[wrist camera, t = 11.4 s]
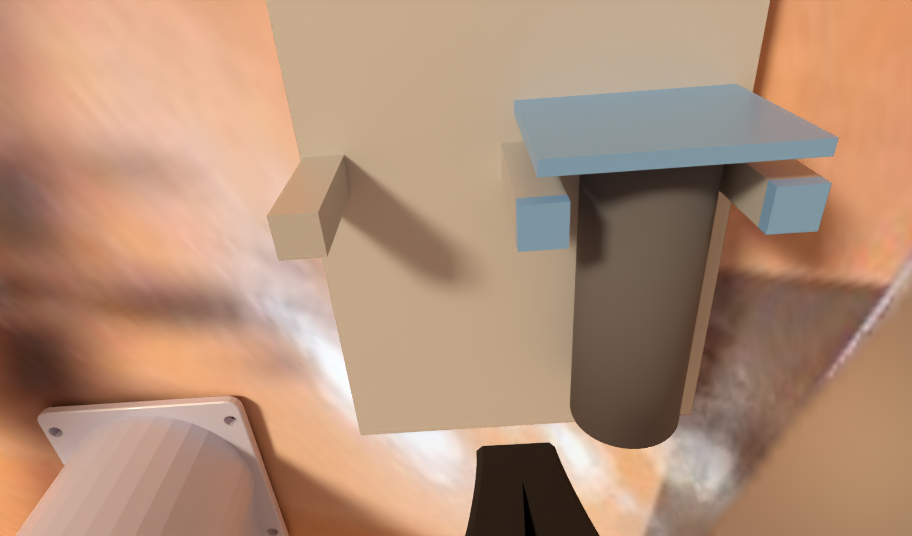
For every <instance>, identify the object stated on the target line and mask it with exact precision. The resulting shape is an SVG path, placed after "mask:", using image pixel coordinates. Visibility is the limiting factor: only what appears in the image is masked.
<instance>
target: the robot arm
mask: <svg viewBox="0 0 912 536" xmlns="http://www.w3.org/2000/svg"><path fill="white" fill-rule="evenodd" d="M229 416H232V417H234V418H231V417H229ZM235 418H236V419H235ZM37 420H38V423H39V425H40V427H41V428H42V430H43V431H44V433H45V435H46V436H47V438H48V440H49V441H50V443H51V444H52V446H53V448H54V449H55V451H56V453H57V454H58V456H59V457H60V459H61V461H62V462H63V464H64V468H63V469H62V470H61V472H60V473H59V475H58V476H57V478H56V479H55V480H54V482H53V483H52V485H51V486H50V487H49V489H48V490H47V492H46V493H45V494H44V496H43V497H42V499H41V500H40V501H39V503H38V504H37V506H36V507H35V508H34V510H33V511H32V513H31V514H30V516H29V517H28V518H27V520H26V521H25V523H24V524H23V525H22V527H21V528H20V530H19V531H18V532H17V534H16V535H15V536H289V534H288V531H287V528H286V525H285V522H284V520H283V517H282V514H281V511H280V508H279V505H278V503H277V500H276V497H275V494H274V491H273V488H272V486H271V483H270V480H269V477H268V474H267V471H266V469H265V466H264V463H263V460H262V457H261V455H260V452H259V449H258V446H257V443H256V440H255V438H254V435H253V432H252V429H251V426H250V423H249V421H248V418H247V415H246V412H245V409H244V406H243V404H242V402H241V401H240V400H239V399H237V398H235V397H233V396H217V397H201V398H186V399H170V400H155V401H139V402H123V403H108V404H92V405H77V406H61V407H49V408H45V409H44V410H43V411H42V412H41V413H40V414H39V416H38V418H37ZM465 536H599V534H598V532H597V531H596V529H595V527H594V526H593V524H592V522H591V520H590V518H589V517H588V515H587V513H586V511H585V510H584V508H583V506H582V504H581V502H580V500H579V498H578V496H577V495H576V493H575V491H574V489H573V487H572V485H571V483H570V481H569V479H568V477H567V475H566V472H565V470H564V468H563V466H562V464H561V461H560V459H559V457H558V454H557V452H556V449H555V447H554V446H553V445H552V444H550V443H531V444H513V445H494V446H482V447H481V448H480V449H478V450H477V468H476V480H475V488H474V495H473V501H472V507H471V512H470V518H469V522H468V526H467V531H466V535H465Z"/></svg>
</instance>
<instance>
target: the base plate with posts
mask: <svg viewBox="0 0 912 536" xmlns="http://www.w3.org/2000/svg"><path fill="white" fill-rule="evenodd" d="M266 4H267V8H268V13H269V18H270V22H271V27H272V31H273V36H274V40H275V45H276V50H277V54H278V59H279V63H280V68H281V72H282V77H283V82H284V86H285V91H286V95H287V100H288V104H289V109H290V114H291V118H292V123H293V127H294V132H295V137H296V141H297V146H298V150H299V155H300V159H301V162H300V164H299V165H298V167H297V169H296V170H295V172H294V173H293V175H292V177H291V178H290V180H289V181H288V183H287V185H286V186H285V188H284V189H283V191H282V193H281V194H280V196H279V197H278V199H277V201H276V202H275V204H274V205H273V207H272V209H271V210H270V212H269V213H268V215H267V218H268V222H269V226H270V230H271V234H272V237H273V241H274V245H275V249H276V253H277V256H278V260H293V259H307V258H322V260H323V265H324V269H325V274H326V278H327V283H328V287H329V292H330V297H331V301H332V306H333V310H334V315H335V319H336V324H337V329H338V333H339V338H340V342H341V347H342V352H343V356H344V361H345V365H346V370H347V374H348V379H349V384H350V388H351V393H352V397H353V402H354V406H355V411H356V416H357V420H358V425H359V429H360V434H361V435H370V434H386V433H402V432H418V431H434V430H450V429H466V428H482V427H498V426H514V425H530V424H546V423H562V422H575V420H574V418H573V416H572V413H571V410H570V388H571V365H572V341H573V317H574V294H575V270H576V246H577V223H578V199H579V175H580V174H594V173H608V172H622V171H636V170H649V169H663V168H677V167H691V166H705V165H719V164H724V167H723V173H722V178H721V184H720V189H719V195H718V201H717V206H716V212H715V218H714V223H713V229H712V235H711V240H710V246H709V252H708V257H707V263H706V268H705V274H704V280H703V285H702V291H701V297H700V302H699V308H698V314H697V319H696V325H695V331H694V336H693V342H692V347H691V353H690V359H689V364H688V370H687V376H686V381H685V387H684V393H683V398H682V404H681V410H680V415H690V414H691V411H692V406H693V401H694V396H695V390H696V385H697V380H698V375H699V370H700V364H701V359H702V354H703V349H704V343H705V338H706V333H707V328H708V323H709V317H710V312H711V307H712V302H713V296H714V291H715V286H716V281H717V276H718V270H719V265H720V260H721V255H722V249H723V244H724V239H725V234H726V229H727V223H728V218H729V213H730V208H731V203H733V204H734V205H735V206H736V207H737V208H738V209H739V210H740V211H741V212H742V213H744V214H745V215H746V216H747V217H748V218H749V219H750V220H751V221H752V222H753V223H754V224H755V225H756V226H757V227H758V228H759V229H760V230H761V231H762V232H764V233H765V234H766V235H771V234H786V233H800V232H815V231H818V229H819V226H820V222H821V219H822V215H823V212H824V208H825V205H826V201H827V198H828V194H829V191H830V187H831V184H832V183H830V182H829V181H827V180H826V179H824V178H823V177H821V176H820V175H818V174H817V173H815V172H814V171H812V170H811V169H809V168H808V167H806V166H804V165H803V164H801V163H800V162H798V161H797V160H795V159H802V158H816V157H830V156H834V153H835V149H836V145H837V142H838V137H836V136H835V135H833V134H831V133H829V132H827V131H825V130H823V129H821V128H819V127H818V126H816V125H814V124H812V123H810V122H808V121H806V120H804V119H802V118H800V117H799V116H797V115H795V114H793V113H791V112H789V111H787V110H785V109H783V108H781V107H780V106H778V105H776V104H774V103H772V102H770V101H768V100H766V99H764V98H763V97H761V96H759V95H757V94H755V93H753V88H754V83H755V77H756V72H757V67H758V62H759V56H760V51H761V46H762V41H763V36H764V30H765V25H766V20H767V15H768V9H769V4H770V0H266Z"/></svg>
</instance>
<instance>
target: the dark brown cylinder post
mask: <svg viewBox="0 0 912 536" xmlns="http://www.w3.org/2000/svg"><path fill="white" fill-rule="evenodd" d="M723 167H724V164H719V165H705V166H691V167H677V168H663V169H649V170H636V171H622V172H608V173H594V174H580V175H579V199H578V223H577V246H576V270H575V294H574V317H573V341H572V365H571V388H570V410H571V413H572V416H573V418H574V420H575V422H576V423H577V424H578V426H579V427H580V428H581V429H582V430H583V431H584V432H586V433H587V434H588V435H590V436H591V437H593V438H594V439H596V440H598V441H600V442H602V443H605V444H608V445H611V446H615V447H620V448H627V449H641V448H648V447H652V446H655V445H657V444H660V443H662V442H664V441H665V440H667V439H668V438H669V437H670V436H671V435H672V434H673V433H674V431H675V430H676V428H677V425H678V421H679V415H680V410H681V404H682V398H683V393H684V387H685V381H686V376H687V370H688V364H689V359H690V353H691V347H692V342H693V336H694V331H695V325H696V319H697V314H698V308H699V302H700V297H701V291H702V285H703V280H704V274H705V268H706V263H707V257H708V252H709V246H710V240H711V235H712V229H713V223H714V218H715V212H716V206H717V201H718V195H719V189H720V184H721V178H722V173H723Z"/></svg>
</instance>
